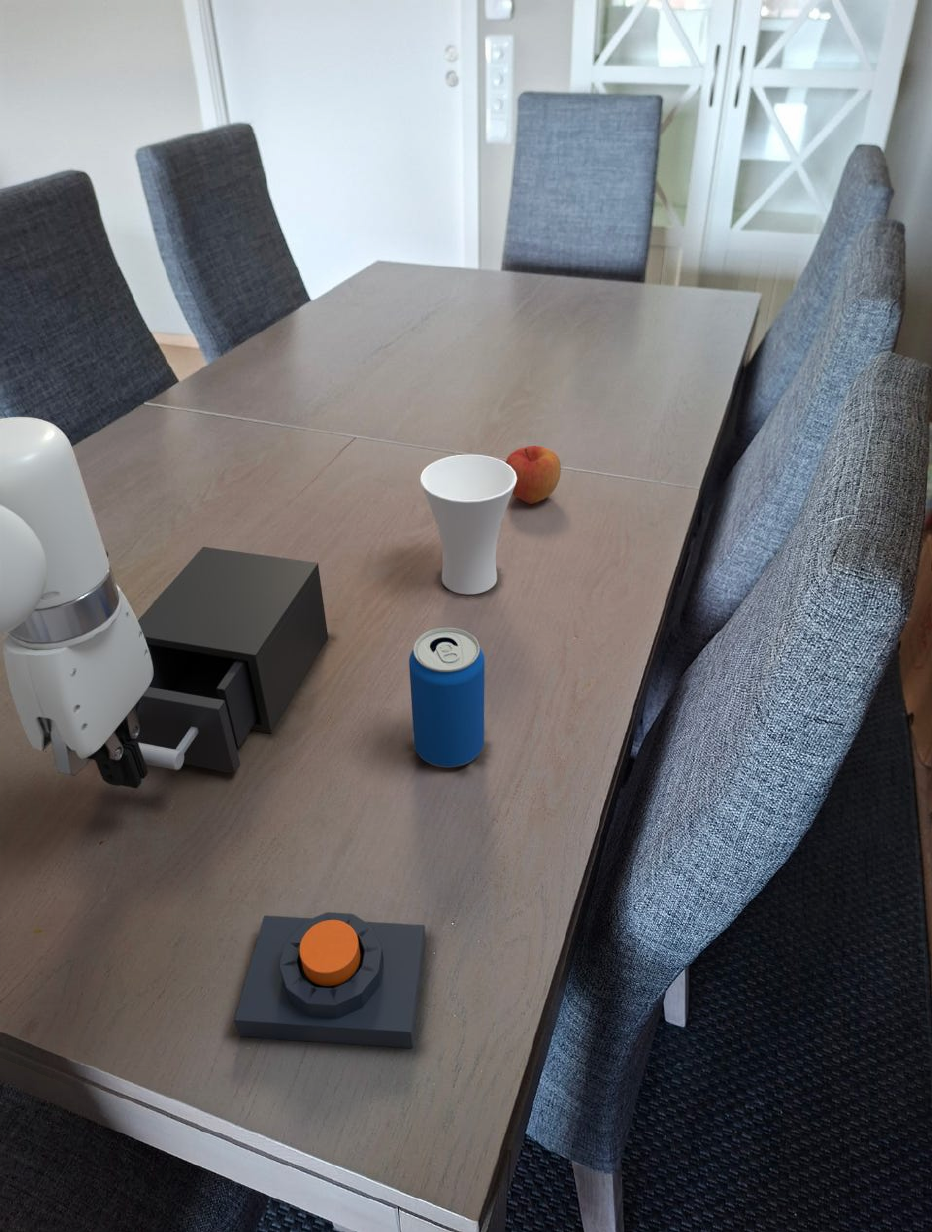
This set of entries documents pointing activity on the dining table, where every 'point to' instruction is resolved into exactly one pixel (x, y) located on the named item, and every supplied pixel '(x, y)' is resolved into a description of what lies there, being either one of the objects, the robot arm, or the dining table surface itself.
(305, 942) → the button
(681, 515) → the dining table surface
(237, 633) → the black cabinet
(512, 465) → the apple
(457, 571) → the cup
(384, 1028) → the control block
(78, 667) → the robot arm
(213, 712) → the drawer
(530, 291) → the dining table surface
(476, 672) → the beverage can
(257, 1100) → the dining table surface
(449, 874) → the dining table surface
